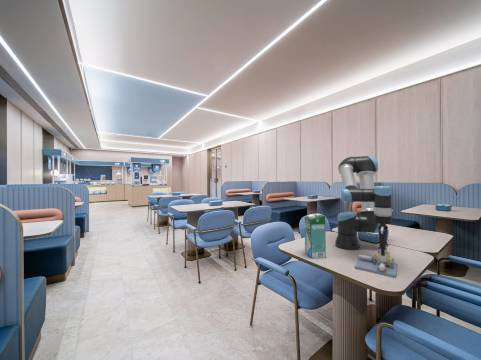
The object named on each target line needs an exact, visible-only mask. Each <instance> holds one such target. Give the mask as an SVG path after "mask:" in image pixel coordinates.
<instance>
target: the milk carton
mask: <svg viewBox="0 0 481 360" xmlns="http://www.w3.org/2000/svg"><path fill="white" fill-rule="evenodd" d="M326 239H327V237H326V215H324V214H321V213H314V214H309V215H308V216H305V217H304V253H305V254H306V255H307V256H308V257H309V258H310V259H326V258H327V256H326V255H327V252H326V251H327V249H326V248H327V247H326V246H327V245H326V243H327V242H326Z"/></svg>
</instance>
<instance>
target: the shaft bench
mask: <svg viewBox="0 0 481 360" xmlns="http://www.w3.org/2000/svg"><path fill="white" fill-rule="evenodd" d="M394 259H395V258H391V260H390V265H386V264H385V263H384V262H380V263H378V256H377V255H371V256H370V255H365V254H360V253H359V254H358V260H357V261H356V263H355V264H354V269H356V270H360V271H365V272H368V273H372V274H377V275H382V276H386V277H389V278H396V279H397V272H398V271H397V270H398V263H396V262H395V260H394Z"/></svg>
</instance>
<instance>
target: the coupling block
mask: <svg viewBox="0 0 481 360" xmlns="http://www.w3.org/2000/svg"><path fill="white" fill-rule="evenodd" d="M377 260H378V263H380V262H382V261H380V250H377ZM384 263H385V264H386V265H390V263H391V252H388V251H387V252H386V262H384Z"/></svg>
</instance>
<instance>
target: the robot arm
mask: <svg viewBox="0 0 481 360" xmlns="http://www.w3.org/2000/svg"><path fill="white" fill-rule="evenodd" d="M337 169H338V173H339V175H340V177H341V182H342V185H343V186H342V189H341V191H340V193H341V194H340V195H341V198H340V199H341V201H343V202H348V203H350V202H353V203H354V202H355V203H356V202H357V203H360V202H361V203H360V204H361V210H360V211H359V213H357V212H356V211H344V212H339V213H338V214H337V236H336V239H335V242H334V243H335V244H334V245H335V247H336V248H339V249H342V250H348V251H358V250H360V249H361V243H360V240H359V237H358V233H369V234H370V233H371V234H374V233H375V234H378V235H379V236H378V239H379V246H378V247H377V249H379V251H380V261H382V262H386V252H388V247H389V243H388V229H389V226H388V225H390V224H392V223H393V221H392V220H393V217H392V214H393V213H392V212H394V209H392V193H393V192H392V187H391V186H389V185H375V181H374V176H375V175H376V174H377V172H378V171H379V163H378V161H377V158H376V157H375V156H373V155H365V156H364V155H363V156H349V157H346V158H344V159H343V160H342V161H341V162H339V165H338V168H337ZM354 173H356V176H357V177H358V178H359V180H358V181H359V188H358V185H357V182H356V178H355V174H354Z"/></svg>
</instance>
